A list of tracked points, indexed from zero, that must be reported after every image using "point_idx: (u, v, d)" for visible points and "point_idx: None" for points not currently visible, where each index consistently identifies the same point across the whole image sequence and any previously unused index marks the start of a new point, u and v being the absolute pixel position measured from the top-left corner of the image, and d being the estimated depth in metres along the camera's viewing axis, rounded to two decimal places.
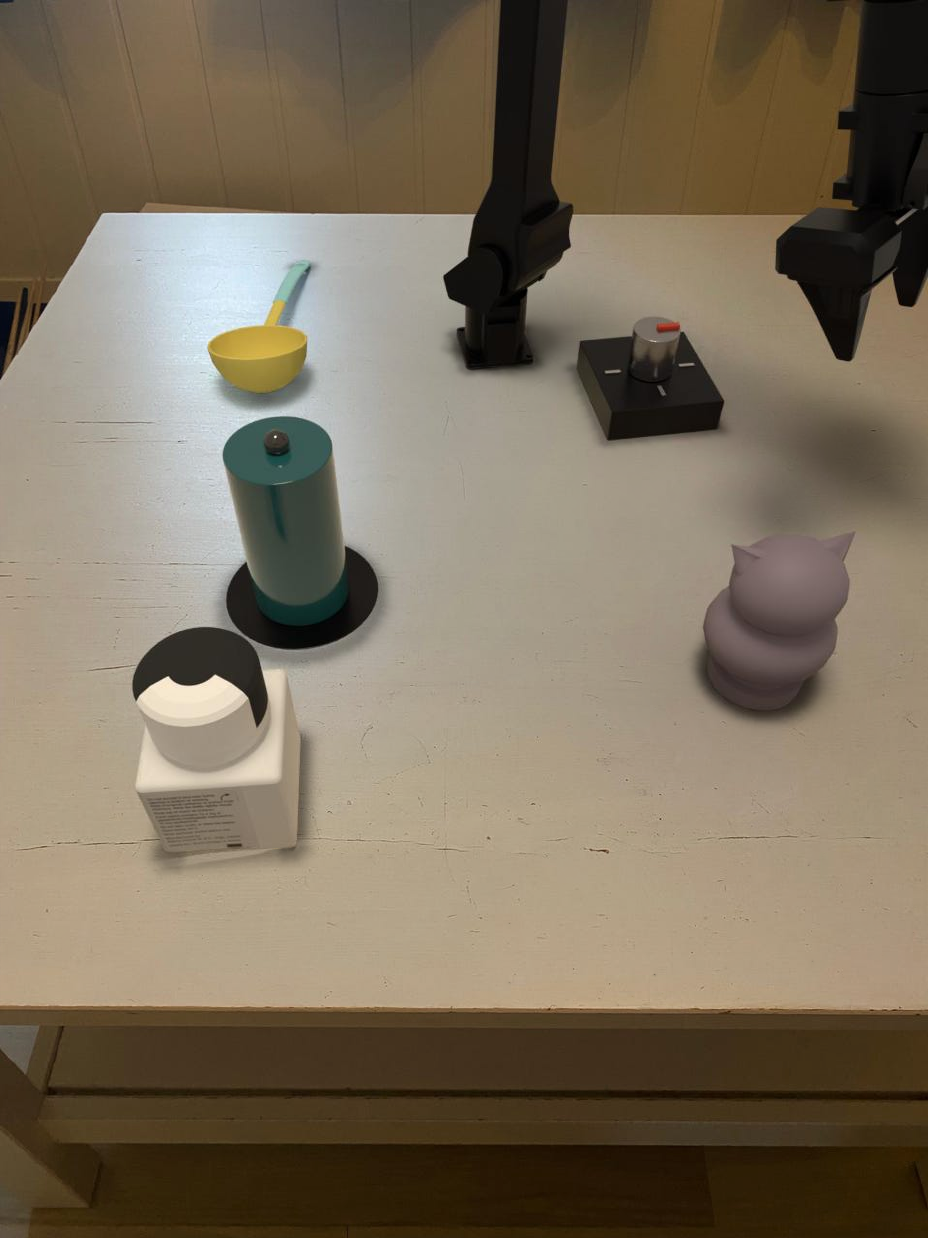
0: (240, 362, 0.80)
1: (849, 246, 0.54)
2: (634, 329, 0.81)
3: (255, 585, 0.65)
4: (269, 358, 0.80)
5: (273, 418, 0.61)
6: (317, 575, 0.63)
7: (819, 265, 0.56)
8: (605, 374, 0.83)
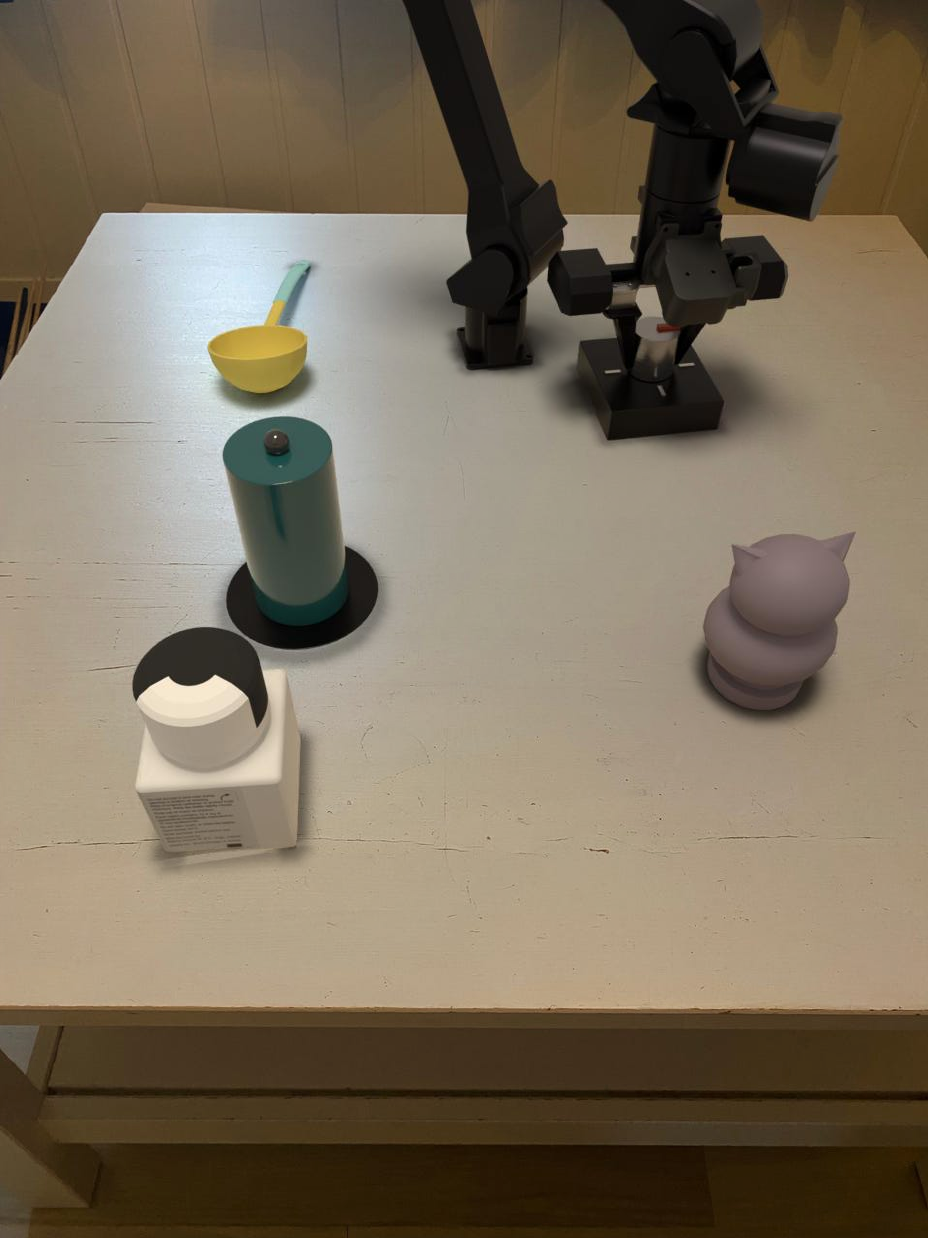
0: (240, 362, 0.80)
1: (562, 283, 0.74)
2: None
3: (255, 585, 0.65)
4: (269, 358, 0.80)
5: (273, 418, 0.61)
6: (317, 575, 0.63)
7: (554, 287, 0.76)
8: (605, 374, 0.83)
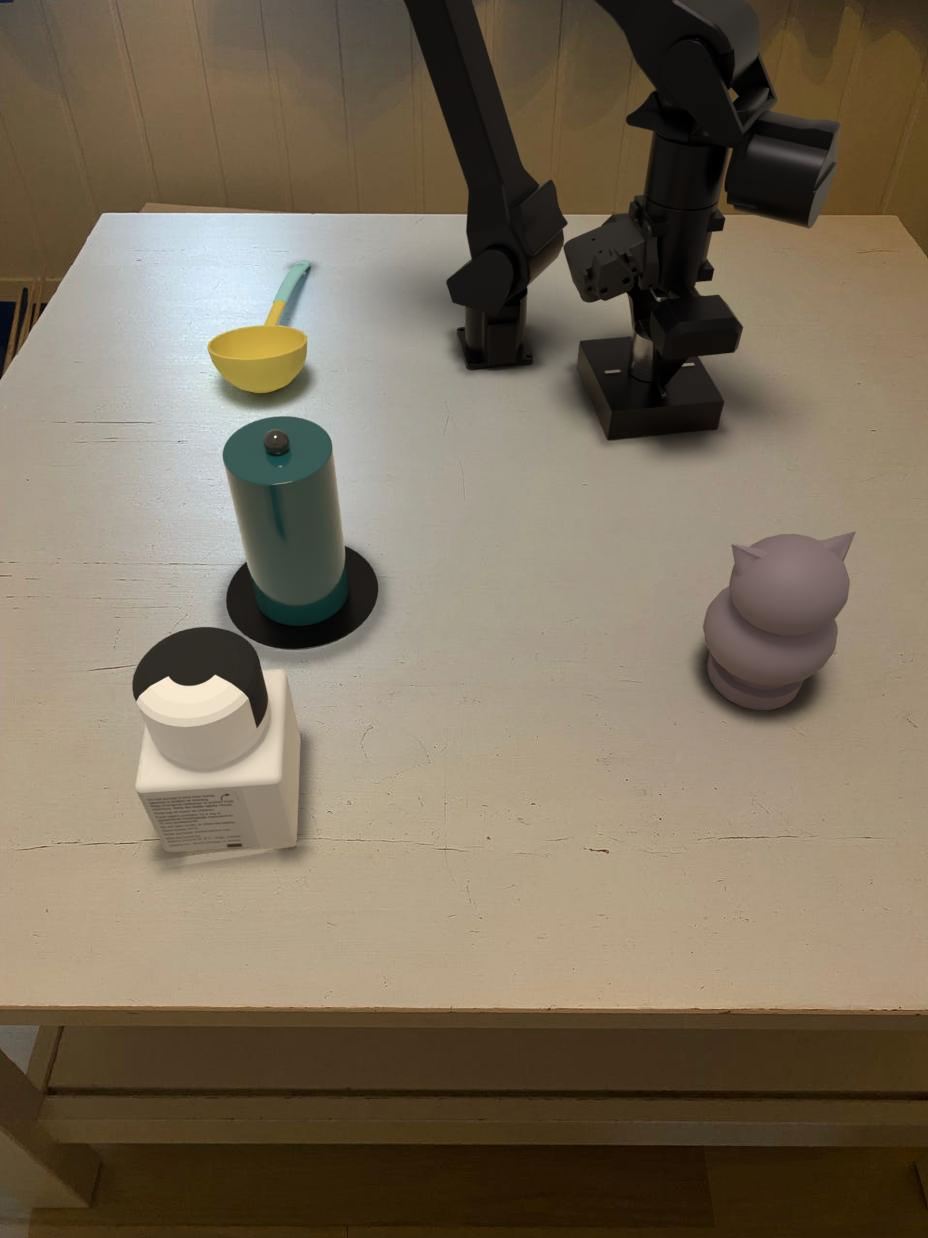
0: (240, 362, 0.80)
1: None
2: None
3: (255, 585, 0.65)
4: (269, 358, 0.80)
5: (273, 418, 0.61)
6: (317, 575, 0.63)
7: None
8: (605, 374, 0.83)
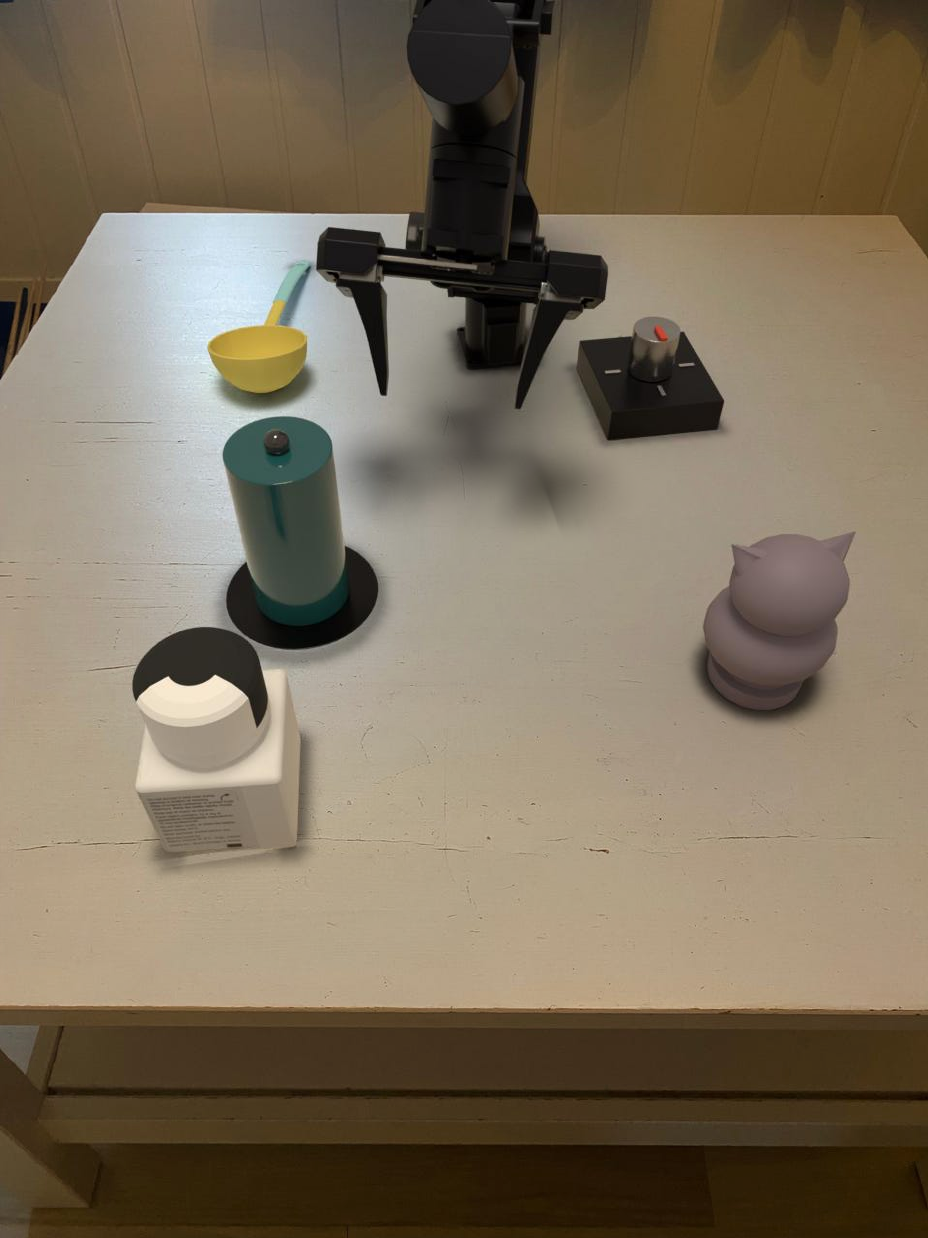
0: (240, 362, 0.80)
1: None
2: None
3: (255, 585, 0.65)
4: (269, 358, 0.80)
5: (273, 418, 0.61)
6: (317, 575, 0.63)
7: None
8: (605, 374, 0.83)
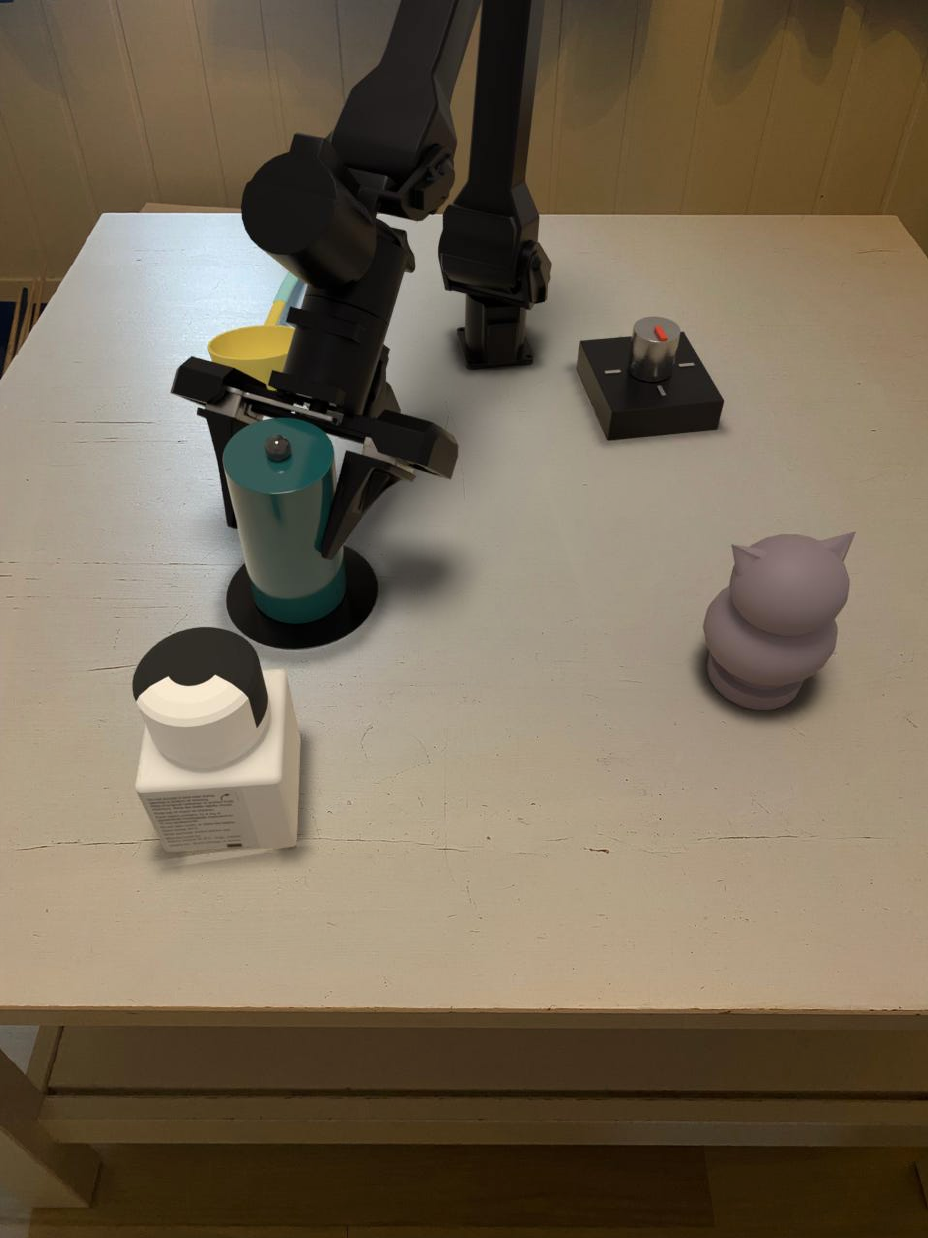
0: (240, 362, 0.80)
1: (456, 445, 0.61)
2: None
3: (253, 583, 0.65)
4: (269, 358, 0.80)
5: (274, 419, 0.60)
6: (315, 577, 0.63)
7: (444, 460, 0.60)
8: (605, 374, 0.83)
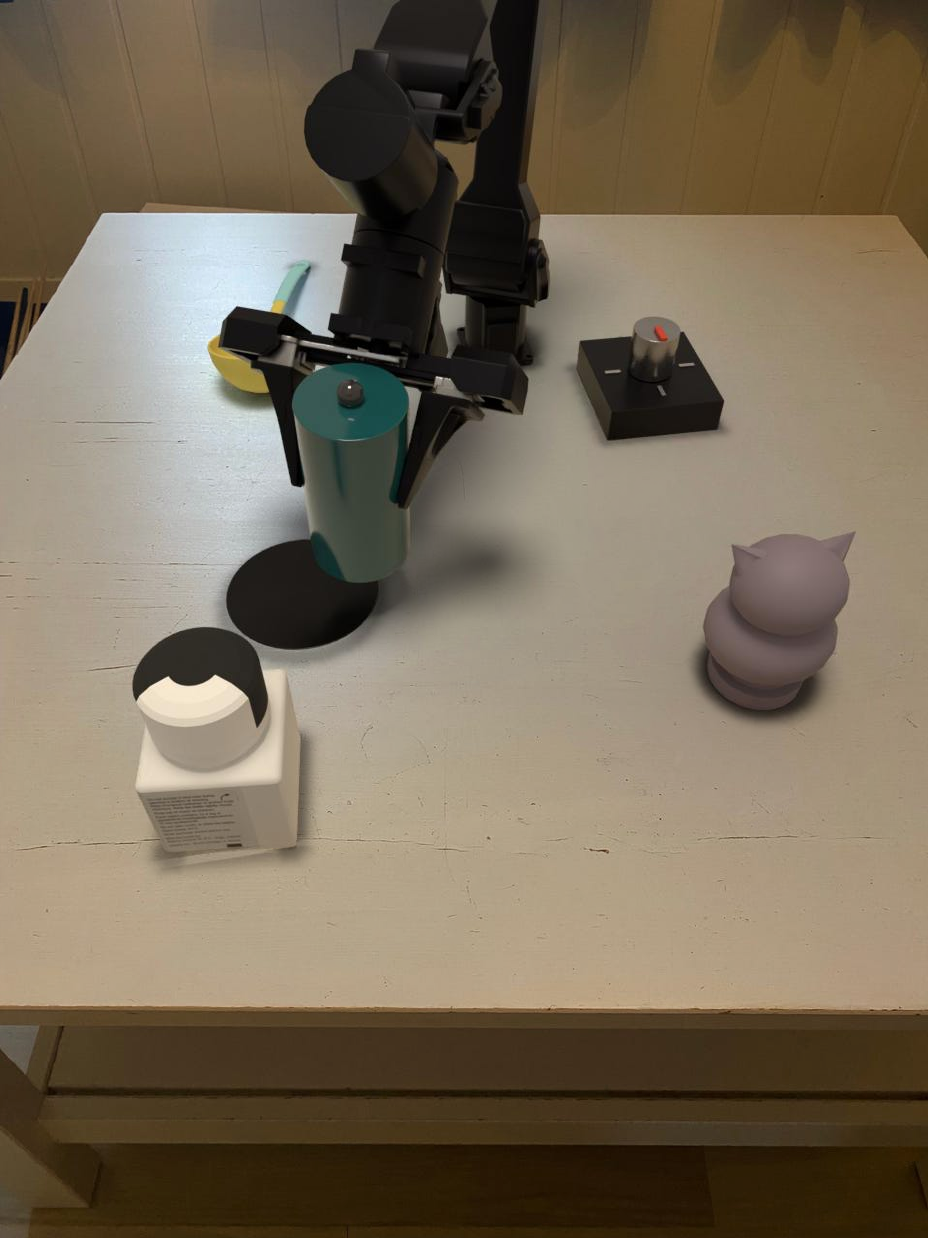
0: (240, 362, 0.80)
1: (527, 378, 0.59)
2: None
3: (319, 543, 0.62)
4: None
5: (337, 365, 0.57)
6: (388, 530, 0.60)
7: (520, 394, 0.57)
8: (605, 374, 0.83)
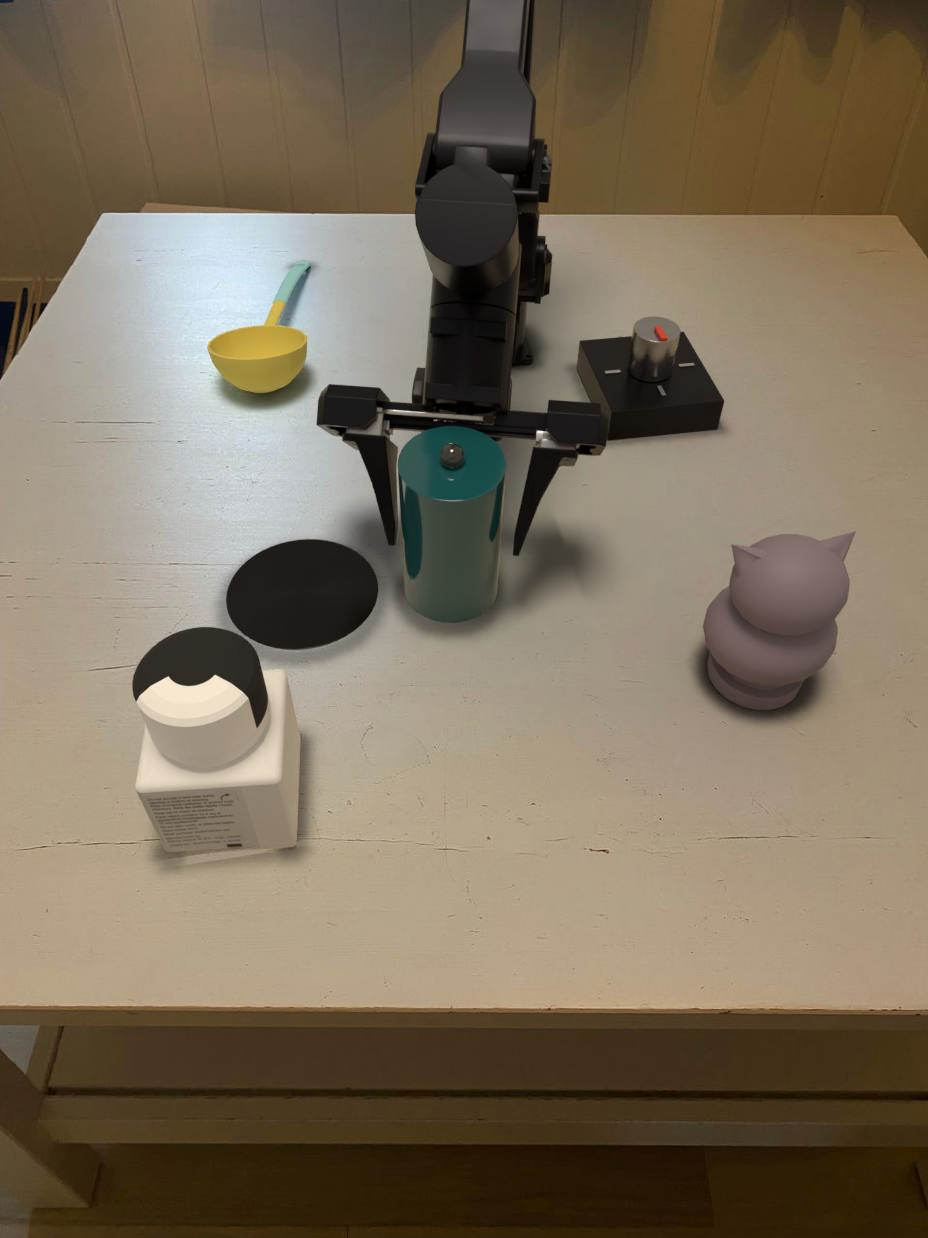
0: (240, 362, 0.80)
1: None
2: None
3: (422, 597, 0.65)
4: (269, 358, 0.80)
5: (428, 431, 0.61)
6: (489, 574, 0.64)
7: None
8: (605, 374, 0.83)
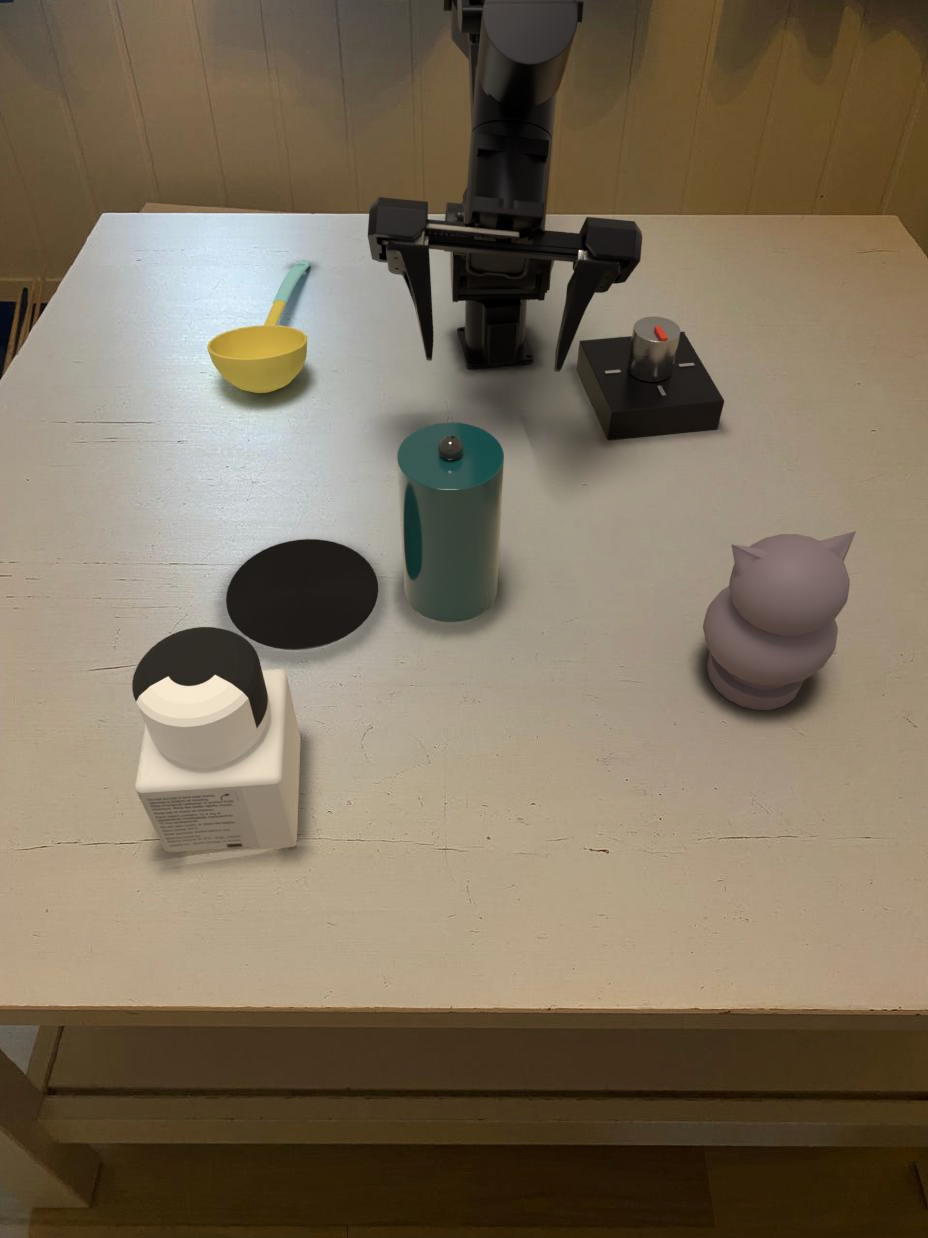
0: (240, 362, 0.80)
1: None
2: None
3: (422, 596, 0.66)
4: (269, 358, 0.80)
5: (426, 427, 0.62)
6: (488, 571, 0.65)
7: None
8: (605, 374, 0.83)
